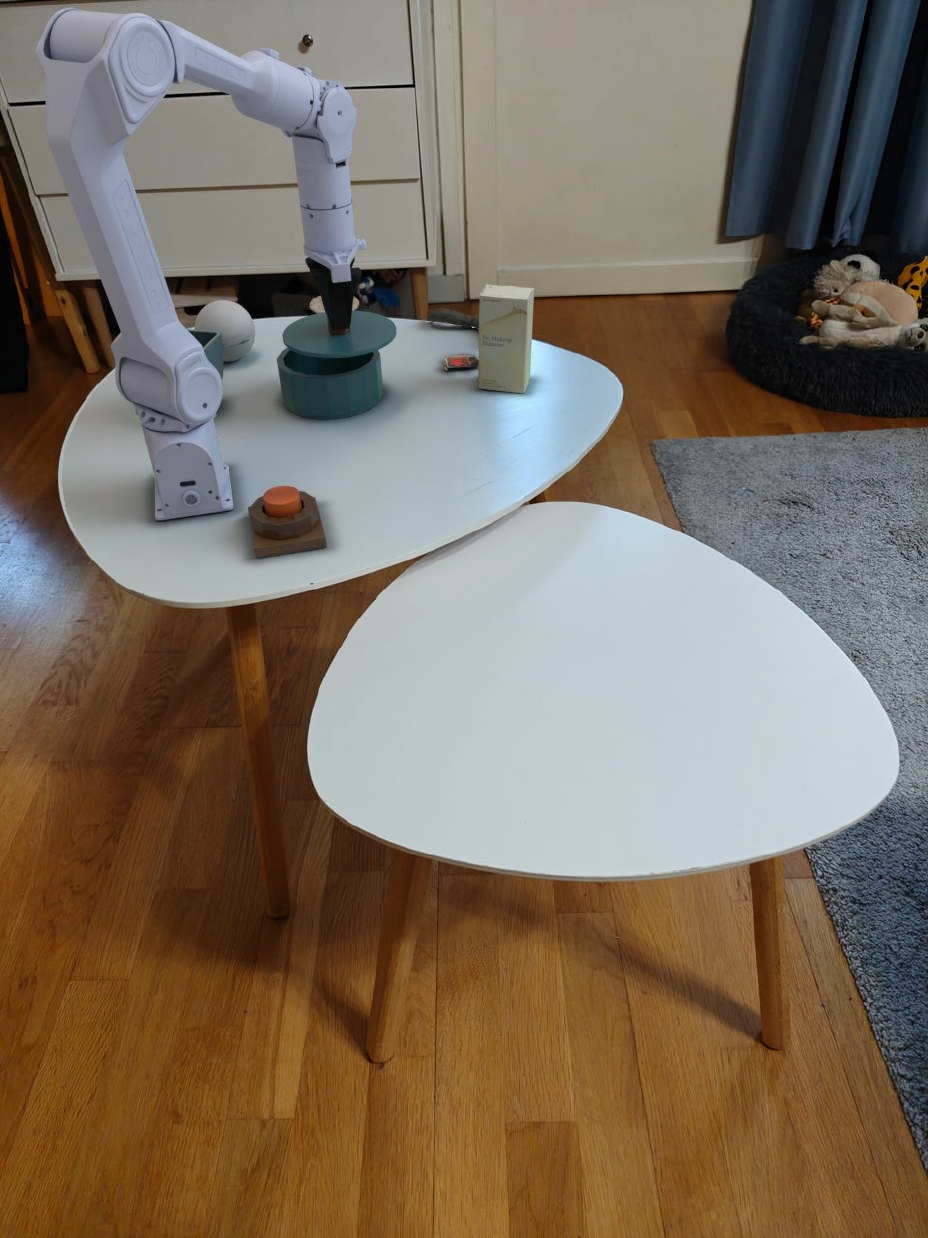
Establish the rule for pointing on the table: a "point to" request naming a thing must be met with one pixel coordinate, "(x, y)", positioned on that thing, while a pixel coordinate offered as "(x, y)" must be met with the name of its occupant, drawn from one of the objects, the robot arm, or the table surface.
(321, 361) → the tin
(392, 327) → the tin lid
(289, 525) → the button block
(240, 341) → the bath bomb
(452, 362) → the matchbox
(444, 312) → the toy
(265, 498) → the button
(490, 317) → the cosmetic box
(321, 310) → the flatbread
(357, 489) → the table surface
